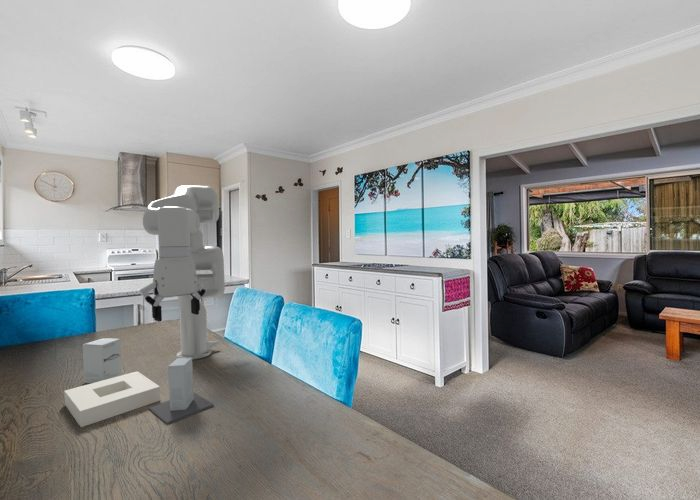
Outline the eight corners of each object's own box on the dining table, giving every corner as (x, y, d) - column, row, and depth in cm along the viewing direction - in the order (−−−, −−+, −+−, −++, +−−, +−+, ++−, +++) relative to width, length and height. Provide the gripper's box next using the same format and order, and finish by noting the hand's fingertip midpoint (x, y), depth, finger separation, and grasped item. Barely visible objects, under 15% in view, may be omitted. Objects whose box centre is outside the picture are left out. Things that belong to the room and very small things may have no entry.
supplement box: (102, 384, 109) (101, 345, 109) (83, 383, 111) (81, 344, 111) (122, 375, 117) (120, 338, 116) (103, 374, 118) (102, 337, 118)
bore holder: (137, 383, 110) (137, 371, 110) (160, 400, 98) (159, 386, 98) (65, 404, 96) (64, 390, 96) (80, 427, 84) (80, 411, 84)
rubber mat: (193, 393, 102) (193, 391, 102) (213, 406, 94) (213, 404, 94) (148, 409, 93) (148, 407, 93) (166, 424, 85) (166, 422, 85)
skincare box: (178, 400, 97) (176, 357, 96) (194, 399, 97) (192, 357, 97) (169, 411, 91) (167, 365, 90) (186, 410, 91) (184, 365, 91)
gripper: (200, 251, 102) (202, 309, 102) (133, 254, 89) (136, 321, 89) (212, 252, 97) (214, 313, 97) (144, 255, 84) (147, 326, 84)
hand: (177, 317), depth 93 cm, fingers open, 9 cm apart
